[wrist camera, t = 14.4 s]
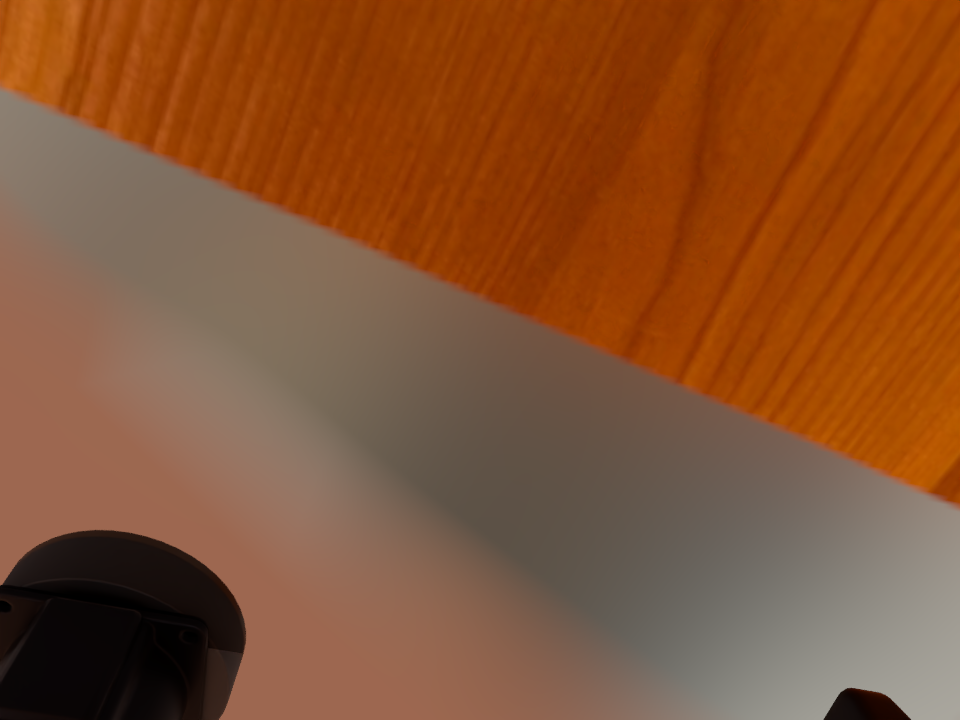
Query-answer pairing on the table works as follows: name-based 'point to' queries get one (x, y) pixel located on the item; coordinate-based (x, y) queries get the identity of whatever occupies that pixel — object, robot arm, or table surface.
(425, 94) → the table surface
